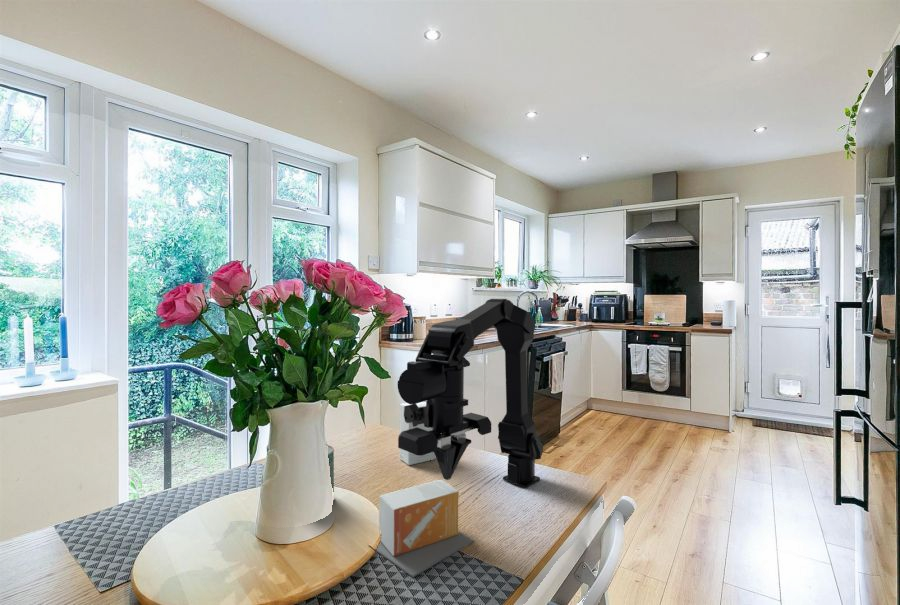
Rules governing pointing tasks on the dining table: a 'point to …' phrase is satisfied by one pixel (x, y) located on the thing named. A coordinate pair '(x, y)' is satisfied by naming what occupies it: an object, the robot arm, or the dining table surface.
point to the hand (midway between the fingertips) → (446, 478)
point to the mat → (425, 554)
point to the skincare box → (405, 455)
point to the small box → (418, 516)
